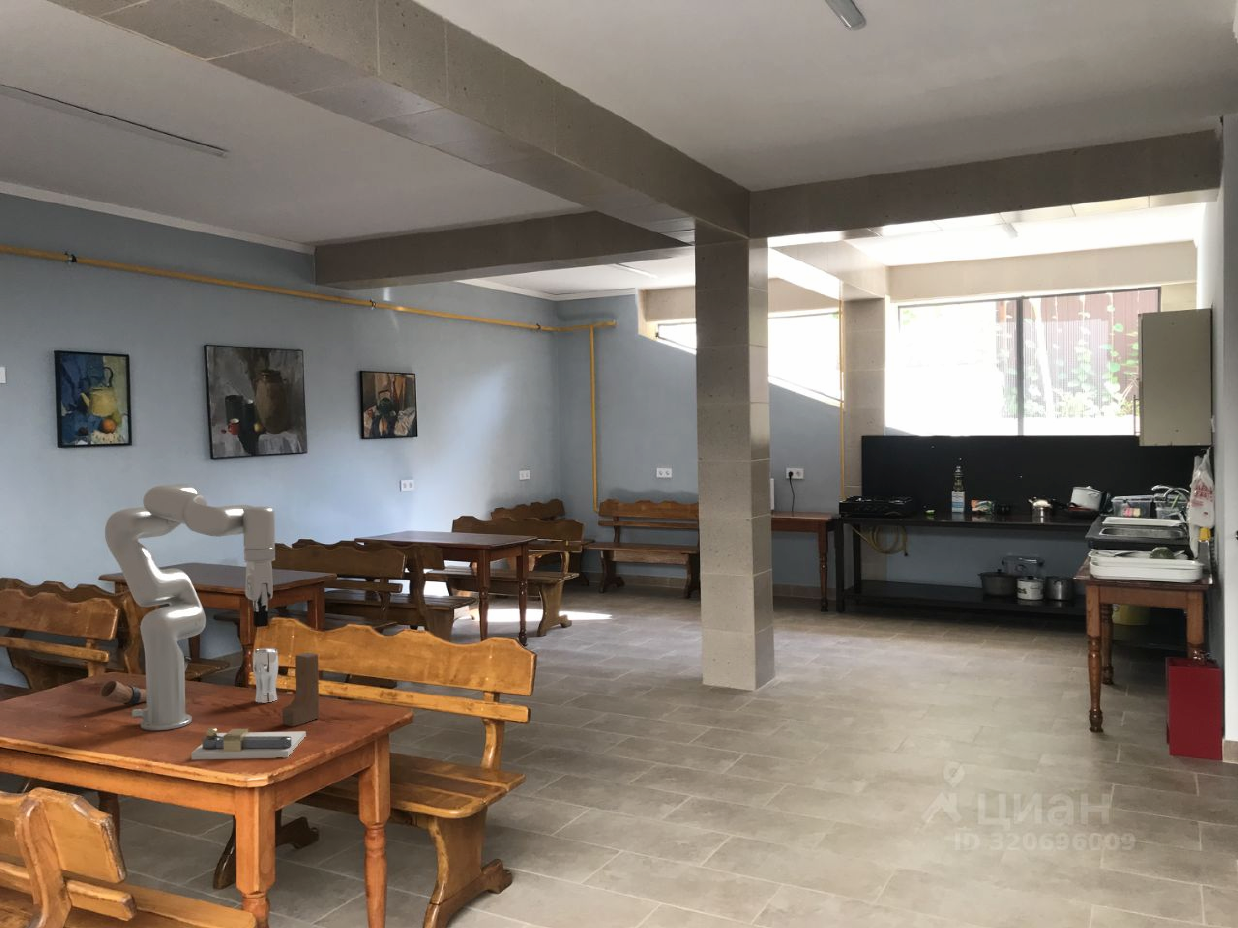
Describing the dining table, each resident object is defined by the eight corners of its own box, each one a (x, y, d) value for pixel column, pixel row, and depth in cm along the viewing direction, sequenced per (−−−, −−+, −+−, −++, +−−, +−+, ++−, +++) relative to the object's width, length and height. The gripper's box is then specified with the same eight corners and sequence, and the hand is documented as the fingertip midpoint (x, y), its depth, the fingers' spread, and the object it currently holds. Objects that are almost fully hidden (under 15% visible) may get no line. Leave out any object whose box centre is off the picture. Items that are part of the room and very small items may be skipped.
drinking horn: (96, 712, 281) (95, 677, 280) (184, 687, 308) (183, 655, 307) (110, 714, 278) (109, 679, 278) (197, 689, 305) (196, 657, 305)
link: (199, 749, 241) (199, 741, 241) (207, 743, 246) (206, 735, 246) (288, 749, 241) (287, 740, 241) (294, 743, 246) (294, 735, 245)
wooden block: (292, 727, 265) (291, 660, 265) (281, 724, 268) (280, 658, 267) (319, 718, 273) (318, 653, 272) (309, 716, 275) (308, 652, 275)
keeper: (201, 752, 240) (201, 733, 240) (210, 744, 246) (210, 726, 246) (240, 751, 240) (240, 732, 240) (248, 743, 246) (248, 725, 246)
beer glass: (264, 705, 287) (263, 653, 286) (248, 701, 290) (247, 651, 290) (283, 699, 293) (283, 649, 292) (268, 696, 296) (267, 646, 296)
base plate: (191, 759, 239) (191, 753, 239) (215, 738, 255) (215, 732, 255) (288, 757, 241) (287, 751, 240) (305, 736, 256) (305, 731, 256)
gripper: (237, 553, 259) (239, 623, 259) (250, 559, 246) (252, 632, 247) (267, 551, 263) (268, 619, 263) (281, 556, 250) (283, 629, 251)
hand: (260, 625), depth 255 cm, fingers closed
